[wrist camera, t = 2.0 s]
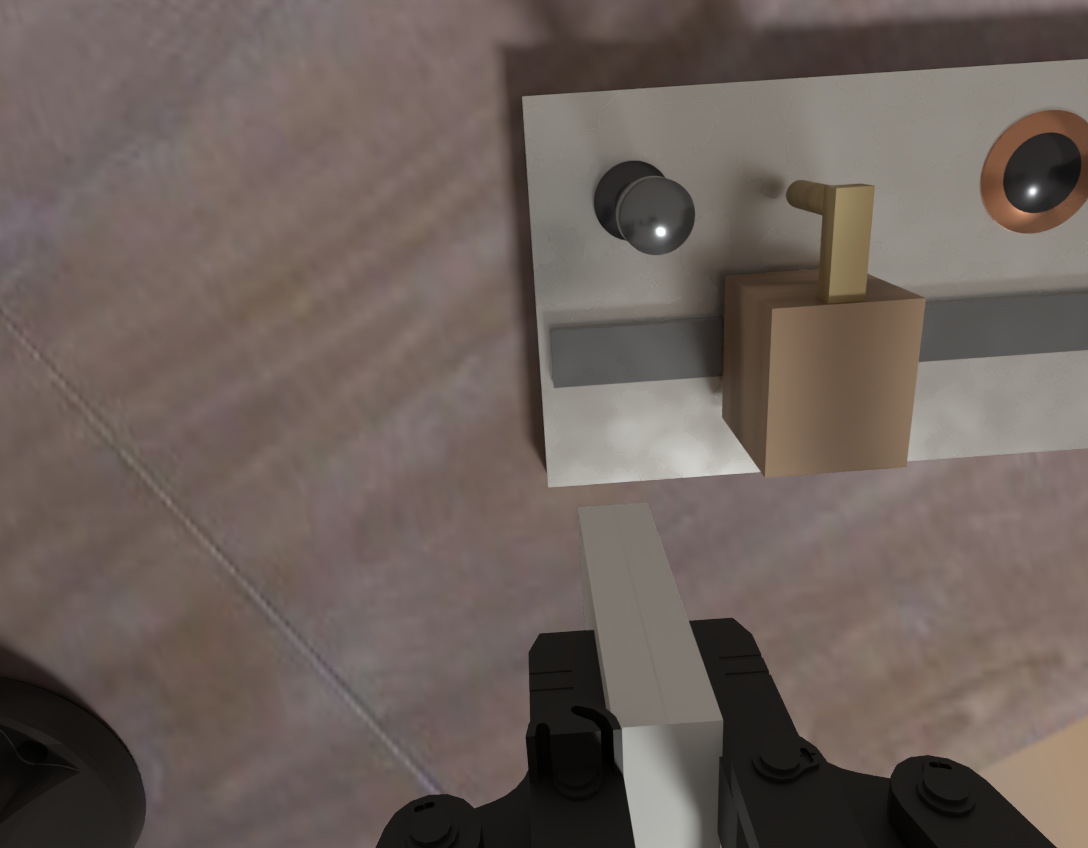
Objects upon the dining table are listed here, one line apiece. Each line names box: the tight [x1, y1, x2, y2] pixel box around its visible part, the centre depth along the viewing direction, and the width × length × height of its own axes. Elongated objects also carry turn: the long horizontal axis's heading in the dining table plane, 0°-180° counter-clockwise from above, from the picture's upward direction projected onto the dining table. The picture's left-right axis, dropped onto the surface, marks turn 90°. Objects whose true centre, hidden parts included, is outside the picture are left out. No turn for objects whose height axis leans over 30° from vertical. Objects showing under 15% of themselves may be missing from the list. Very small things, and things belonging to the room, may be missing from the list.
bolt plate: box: [522, 59, 1088, 487], centre depth 30 cm, size 26×16×7 cm, turn 93°
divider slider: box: [722, 180, 926, 477], centre depth 28 cm, size 5×10×6 cm, turn 3°
